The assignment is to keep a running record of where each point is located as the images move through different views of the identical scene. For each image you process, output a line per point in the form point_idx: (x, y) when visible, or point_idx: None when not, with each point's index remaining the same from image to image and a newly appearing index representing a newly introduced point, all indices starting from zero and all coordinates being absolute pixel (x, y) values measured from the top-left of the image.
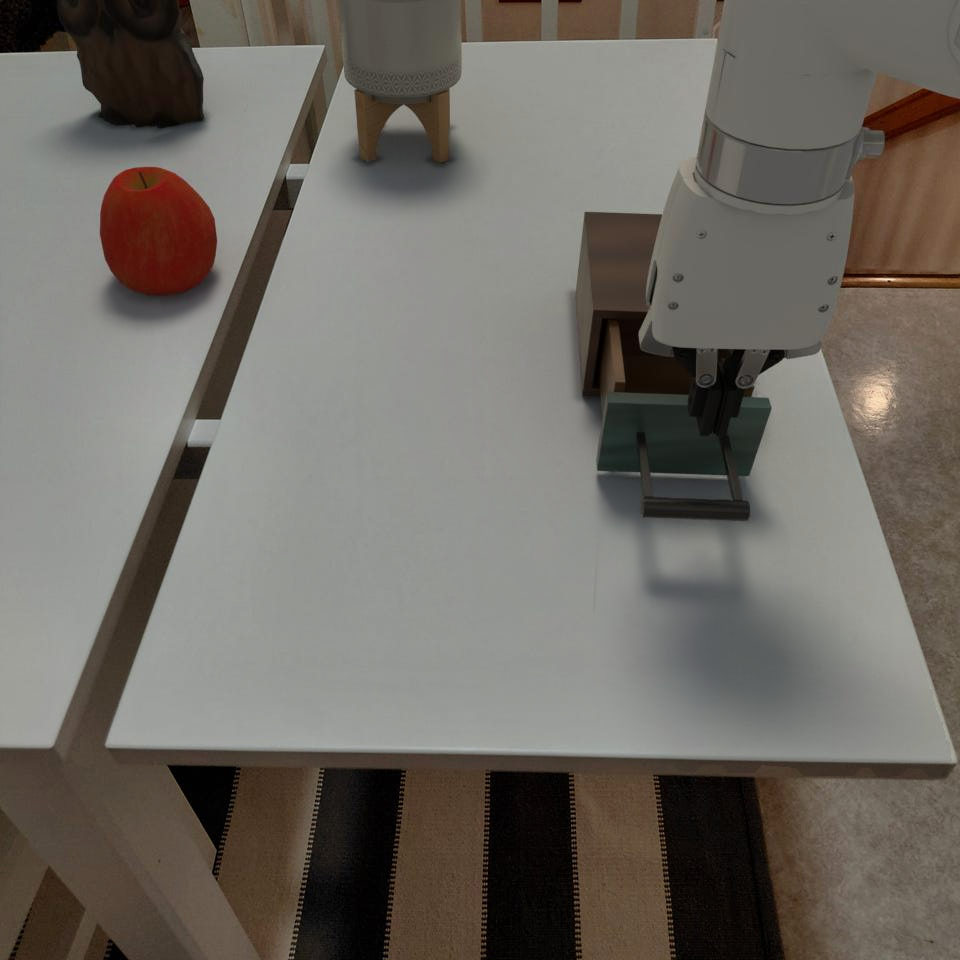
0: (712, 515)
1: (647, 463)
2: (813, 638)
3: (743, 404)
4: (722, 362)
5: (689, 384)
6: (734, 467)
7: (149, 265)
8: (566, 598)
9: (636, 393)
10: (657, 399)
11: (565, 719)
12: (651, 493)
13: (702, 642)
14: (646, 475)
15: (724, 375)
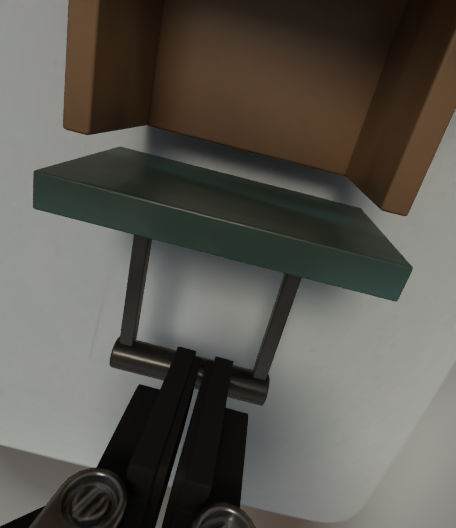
0: None
1: (138, 284)
2: (303, 431)
3: (339, 277)
4: (181, 495)
5: None
6: (282, 322)
7: None
8: (63, 338)
9: (101, 192)
10: (146, 222)
11: (52, 439)
12: (130, 341)
13: (190, 410)
14: (131, 307)
15: (171, 525)
